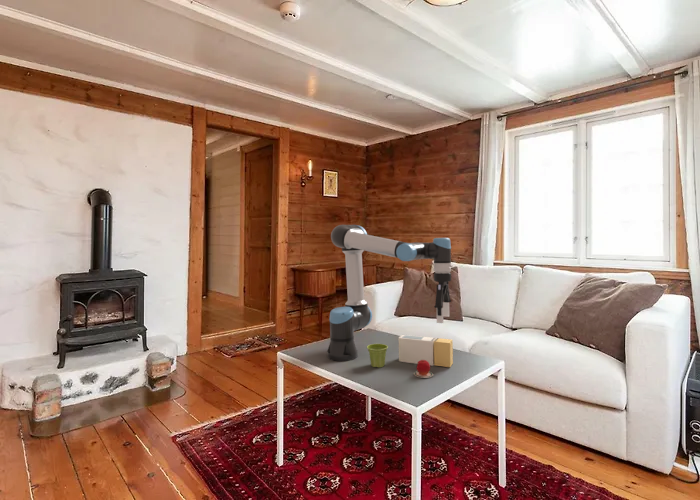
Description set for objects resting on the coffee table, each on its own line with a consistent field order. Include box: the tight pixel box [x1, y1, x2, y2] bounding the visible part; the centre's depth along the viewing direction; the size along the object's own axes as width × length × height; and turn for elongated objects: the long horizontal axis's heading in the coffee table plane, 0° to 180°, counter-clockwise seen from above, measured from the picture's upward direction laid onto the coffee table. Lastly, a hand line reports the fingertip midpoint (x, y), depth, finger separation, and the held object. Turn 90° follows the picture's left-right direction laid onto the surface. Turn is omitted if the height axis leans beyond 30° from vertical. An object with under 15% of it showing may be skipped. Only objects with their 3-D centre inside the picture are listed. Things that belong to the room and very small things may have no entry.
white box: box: [398, 334, 437, 367], centre depth 174 cm, size 16×6×11 cm, turn 64°
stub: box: [433, 337, 454, 368], centre depth 168 cm, size 7×6×11 cm
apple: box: [413, 360, 434, 379], centre depth 157 cm, size 8×8×6 cm
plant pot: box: [366, 343, 389, 368], centre depth 169 cm, size 9×9×9 cm
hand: (443, 319), depth 168 cm, fingers open, 13 cm apart
